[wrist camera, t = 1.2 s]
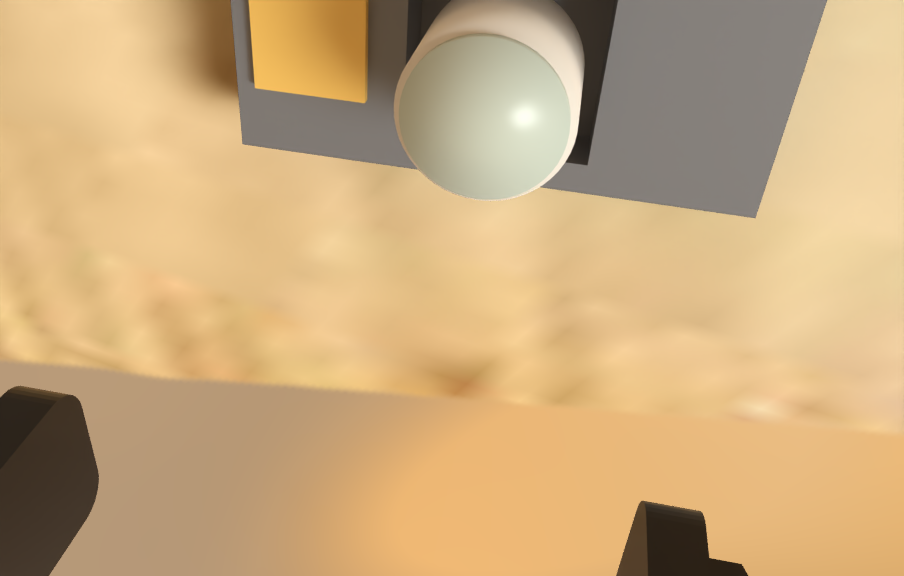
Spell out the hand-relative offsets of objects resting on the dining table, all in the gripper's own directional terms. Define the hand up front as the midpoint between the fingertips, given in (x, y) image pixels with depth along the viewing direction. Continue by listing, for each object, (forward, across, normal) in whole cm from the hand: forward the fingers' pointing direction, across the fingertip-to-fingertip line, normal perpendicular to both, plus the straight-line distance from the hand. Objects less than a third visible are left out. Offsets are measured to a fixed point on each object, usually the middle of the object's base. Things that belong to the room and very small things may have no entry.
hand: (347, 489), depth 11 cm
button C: (+17, 0, 0) cm, 17 cm away
